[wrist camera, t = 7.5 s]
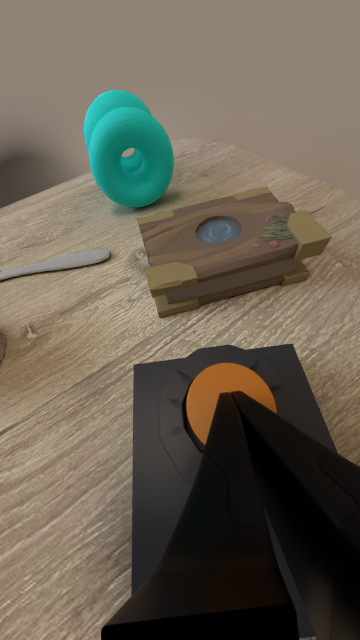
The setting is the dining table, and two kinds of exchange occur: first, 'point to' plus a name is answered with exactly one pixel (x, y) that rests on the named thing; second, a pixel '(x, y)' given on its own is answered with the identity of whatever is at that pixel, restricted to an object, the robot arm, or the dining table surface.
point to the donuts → (123, 133)
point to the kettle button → (219, 381)
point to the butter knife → (59, 263)
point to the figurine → (2, 346)
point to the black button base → (201, 445)
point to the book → (227, 248)
